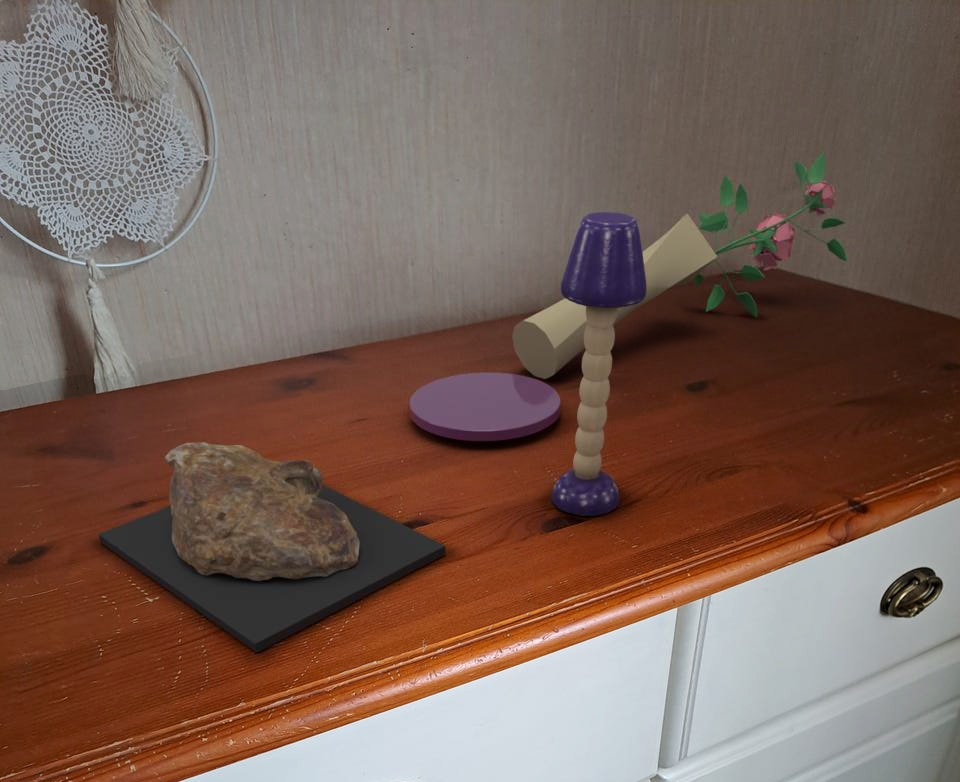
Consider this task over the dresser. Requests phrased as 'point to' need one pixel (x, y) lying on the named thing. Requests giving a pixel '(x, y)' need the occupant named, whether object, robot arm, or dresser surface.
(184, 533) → the brown rock
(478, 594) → the dresser surface
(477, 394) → the saucer
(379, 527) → the place mat
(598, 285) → the toy lamp
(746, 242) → the flower vase
